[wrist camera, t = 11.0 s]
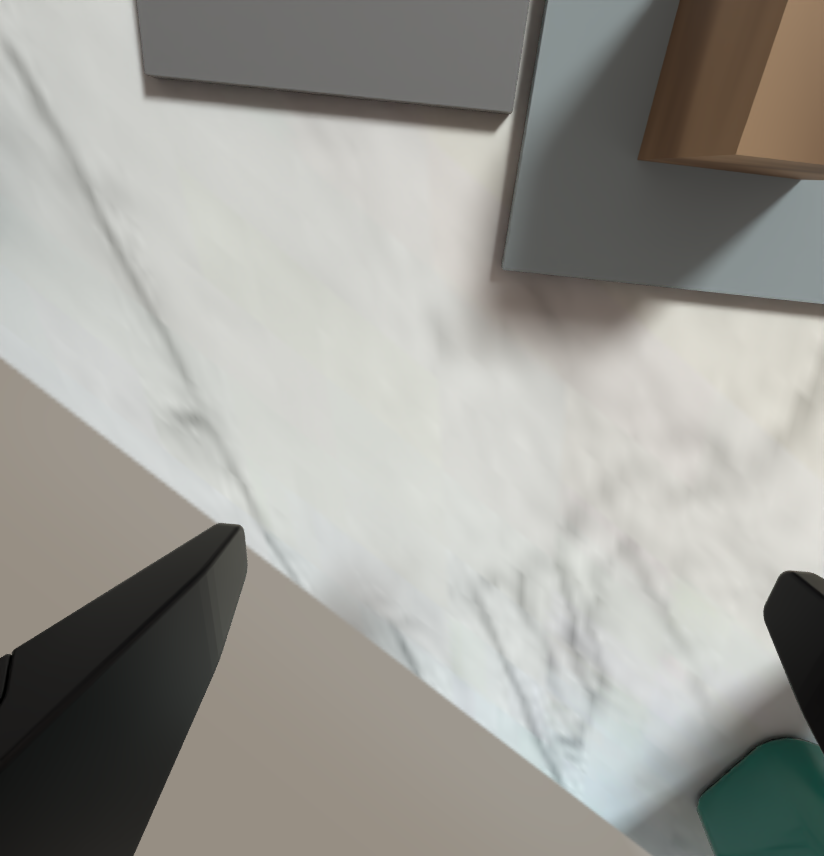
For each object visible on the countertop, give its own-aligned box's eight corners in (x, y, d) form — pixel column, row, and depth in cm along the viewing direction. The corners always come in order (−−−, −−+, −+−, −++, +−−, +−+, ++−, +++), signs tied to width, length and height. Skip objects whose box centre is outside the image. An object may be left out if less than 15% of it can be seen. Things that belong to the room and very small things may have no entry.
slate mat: (501, 266, 18) (503, 269, 17) (585, -243, 13) (591, -261, 12) (850, 304, 18) (863, 308, 17) (1083, -195, 13) (1113, -211, 12)
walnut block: (636, 160, 16) (735, 154, 10) (694, -55, 14) (856, -202, 8) (801, 179, 16) (985, 184, 10) (886, -33, 14) (1173, -166, 8)
